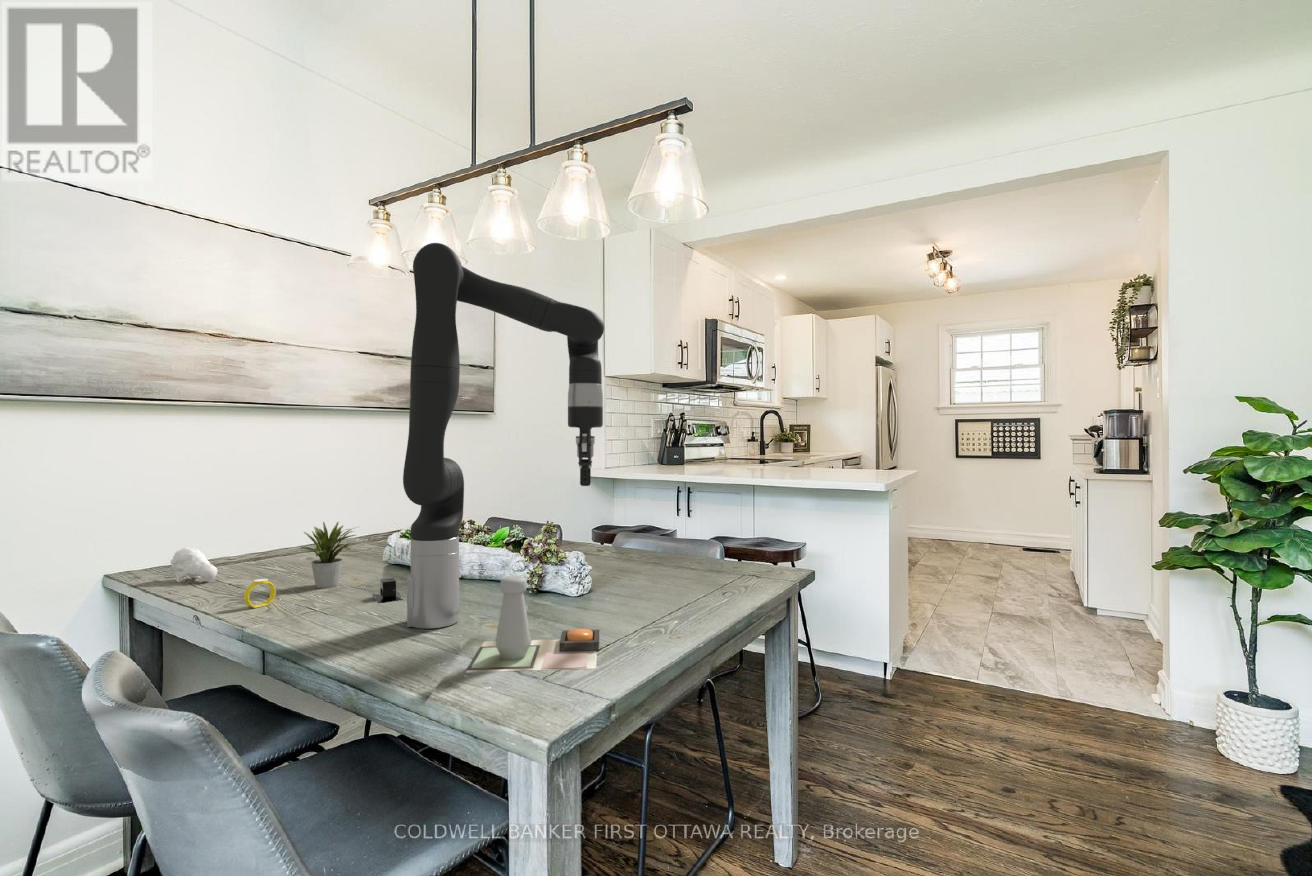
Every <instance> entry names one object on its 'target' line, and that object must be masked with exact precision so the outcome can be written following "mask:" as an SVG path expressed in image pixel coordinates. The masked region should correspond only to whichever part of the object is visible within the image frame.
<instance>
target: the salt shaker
mask: <svg viewBox="0 0 1312 876" xmlns="http://www.w3.org/2000/svg"><path fill="white" fill-rule="evenodd" d="M527 585H528V584H527V579H526V577H524V576H520V575H510V576H505V577H504V578H502V579H501V580H500V584H499V587H500V588H499V589H500V592H501V593H503V597H502V602H501V608H500V615H499V619H498V625H497V630H496V631H497V632H496V636H495V640H494V641H495V642H496V648H497V650H498V651H499V653H500V656H501V657H502V658H503V660H518V659H521V658H524V657H525V655H526V653H527V651H528V649H529V647H530V645H531V640H532V636H531V631H530V626H529V620H528V614H527V608H526V603H525V597H524V592H526V591H527V587H528V586H527Z"/></svg>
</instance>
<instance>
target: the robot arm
mask: <svg viewBox="0 0 1312 876" xmlns="http://www.w3.org/2000/svg"><path fill="white" fill-rule="evenodd" d="M412 273H413V279H414V288H415V289H414V291H415V292H414V294H415V309H416V310H415V311H416V312H415V321H414V329H413V338H412V346H411V357H410V358H411V359H410V378H409V389H410V390H409V391H410V393H409V395H410V396H409V397H410V398H409V415H408V419H409V422H408V423H409V424H408V435H407V436H408V437H407V445H406V451H405V457H404V458H405V459H404V465H403V466H404V467H403V473H402V484H403V490H404V493H405V495H406V496H407V498H408V500H410V501H411V502H412V503H413V504H414V505H415V504H416V505H418V506H420V512H419V513H418V516H417V518H416V519H415V520H414V521H413V523H412V524H411V525H410V576H408V577H407V579H406V626H407V627H408V628H409V627H410V628H411V627H412V628H416V629H426V630H428V629H438V628H443V627H448V626H452V625H454V624H457V623H458V622H459V620H460V528H461V524H462V522H463V517H464V503H465V502H464V501H465V500H464V499H465V498H464V497H465V479H464V474H463V470H462V469H461V467H460V465H459V464H458V463H457V462H456V461H455V460H453V459H452V458H448V457H445V435H446V431H447V427H448V424H449V421H450V419H451V417H452V414H453V411H454V410H455V406H456V403H457V401H458V396H459V391H460V390H459V389H460V373H461V371H460V369H461V367H460V366H461V365H460V347H459V346H460V345H459V339H458V337H459V336H458V331H457V330H458V329H457V322H456V321H457V320H456V319H457V317H456V316H457V313H456V312H457V303H458V302H461V303H465V304H468V305H472V306H475V307H479V308H483V309H485V310H488V311H492V312H494V313H497V314H498V315H502V316H504V317H507V318H509V319H512V320H514V321H516V322H520V323H522V324H524V325H527V326H530V327H533V328H535V329H537V330H541V331H543V332H548V333H552V332H553V333H559V334H561V335H564V336H566V340H567V352H568V358H569V359H568V361H569V366H568V392H567V426H568V427H569V428H576V429H577V428H578V429H579V433H578V434H579V436H578V435H576V436H575V444H576V456H577V458H578V467H579V485H580V486H581V487H589V486H591V481H592V478H591V475H592V473H591V471H592V470H591V468H592V466H593V460H592V458H593V457H594V445H595V440H596V439H595V436H594V435H592V429H593V428H598V429H599V428H602V427H603V425H604V424H603V423H604V415H603V414H604V410H603V409H604V400H603V399H604V395H603V394H604V393H603V388H602V387H603V386H602V383H603V382H602V377H603V376H602V374H603V373H602V363H601V360H600V359H599V340H600V339H601V338H602V336H603V335H604V332H605V324H604V321H603V319H602V317H600V316H599V314H598V313H596V312H594V311H593V310H590V309H588V308H585V307H582V306H579V305H574V304H570V303H567V302H561V301H558V300H556V299H554V298H551V297H549V296H547V295H544V294H541V293H539V292H537V291H534V290H531V289H528V288H525V287H522V286H517V285H513V284H509V283H505V282H501V281H500V282H499V281H497V280H493V279H490V278H487V277H485V276H482V275H480V274H477V273H475V272H473V271H471V270H470V269H468V268H466V267H464V266H463V265H462V261H461V260H460V258H459V256H458V255H457V253H456V252H455V251H454V250H453V249H452V248H451V247H449V245H446V244H444V243H440V242H431V243H428V244H425V245H424V246H423V247H421V248H420V249H419V250H418V251H417V253H416V254H415V256H414V259H413V262H412Z"/></svg>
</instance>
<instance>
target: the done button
mask: <svg viewBox="0 0 1312 876" xmlns="http://www.w3.org/2000/svg"><path fill="white" fill-rule="evenodd" d="M591 630H592V629H589V628H574V629H571V630H570V631H569V632H568V633H567V641H593V632H592V631H591Z"/></svg>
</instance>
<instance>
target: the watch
mask: <svg viewBox="0 0 1312 876" xmlns="http://www.w3.org/2000/svg"><path fill="white" fill-rule="evenodd" d="M265 584H267V585H268V586H269V588H270V594H269V597H268V599H267V600H266V601H265V602H264V603H259V604H257V605H253V604H252V603H251V601H250V594H251V592H252V590H253V589H254V588H255V587H256V586H258V585H265ZM276 592H277V591H276V587H275V585H274V584H273V583H272V582H270V581H269V579H267V578H258V579H253V581H252V583H250V584H249V585H248V586H247V588H246V590H245V592H244V594H243V595H244V597H243V600H244V602H245V605H247V606H248V607H250V608H252V609H257V608H261V607H266V606H270V605H271V604H272V602H273V601H274V599H275V597H276V595H277V594H276Z"/></svg>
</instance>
